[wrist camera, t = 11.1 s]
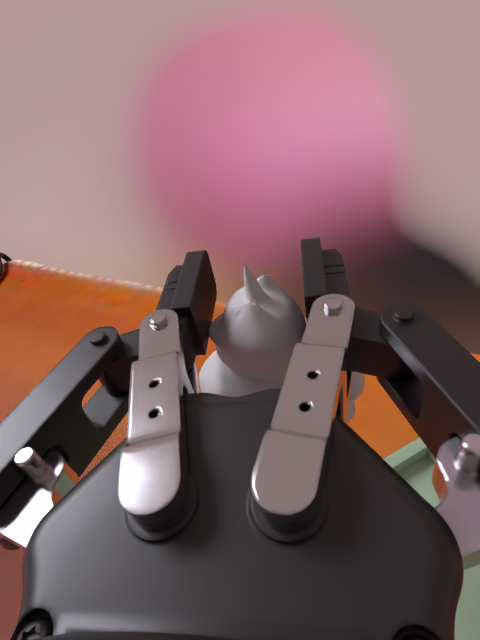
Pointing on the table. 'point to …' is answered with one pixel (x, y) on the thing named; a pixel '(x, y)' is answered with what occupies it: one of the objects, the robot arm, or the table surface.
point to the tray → (416, 468)
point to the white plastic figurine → (257, 342)
